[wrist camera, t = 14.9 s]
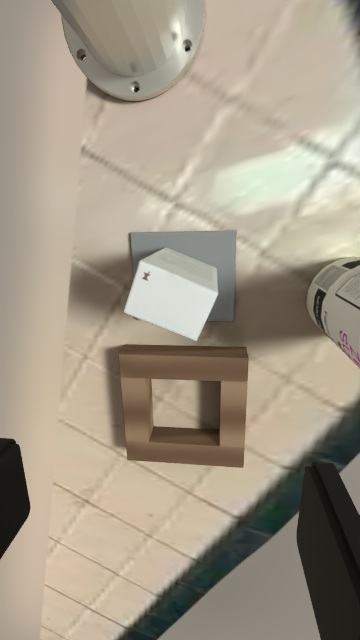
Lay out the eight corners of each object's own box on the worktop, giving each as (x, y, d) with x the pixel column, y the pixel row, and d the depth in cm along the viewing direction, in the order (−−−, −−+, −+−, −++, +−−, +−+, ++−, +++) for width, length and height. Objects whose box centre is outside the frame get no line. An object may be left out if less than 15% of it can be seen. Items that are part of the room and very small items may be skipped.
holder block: (126, 344, 37) (118, 354, 34) (245, 347, 35) (248, 358, 33) (133, 443, 41) (127, 459, 38) (241, 450, 39) (243, 467, 37)
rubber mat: (131, 232, 33) (130, 232, 33) (236, 230, 32) (236, 230, 31) (136, 318, 36) (136, 319, 36) (233, 320, 35) (233, 321, 34)
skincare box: (152, 283, 34) (119, 312, 23) (165, 246, 33) (138, 257, 21) (203, 304, 34) (196, 343, 23) (219, 268, 33) (220, 290, 21)
